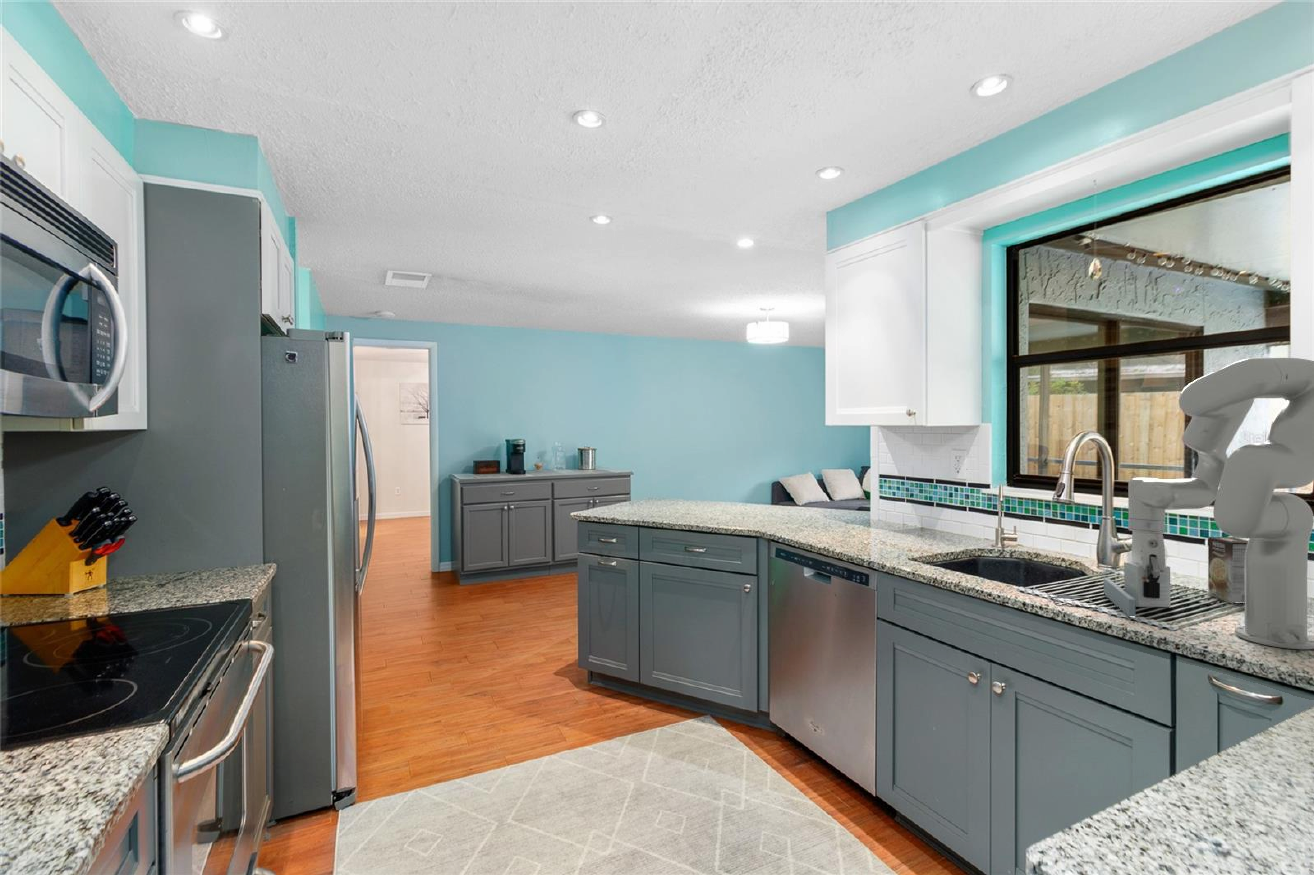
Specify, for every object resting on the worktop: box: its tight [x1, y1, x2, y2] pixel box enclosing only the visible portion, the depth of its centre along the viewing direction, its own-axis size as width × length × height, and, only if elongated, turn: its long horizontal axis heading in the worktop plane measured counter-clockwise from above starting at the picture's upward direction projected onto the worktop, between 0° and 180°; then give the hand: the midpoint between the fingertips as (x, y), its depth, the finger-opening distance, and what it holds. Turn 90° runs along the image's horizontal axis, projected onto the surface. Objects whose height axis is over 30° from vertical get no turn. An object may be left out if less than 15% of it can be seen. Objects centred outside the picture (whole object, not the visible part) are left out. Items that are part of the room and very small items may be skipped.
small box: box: [1123, 561, 1172, 608], centre depth 161 cm, size 8×6×10 cm
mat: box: [1051, 594, 1093, 607], centre depth 164 cm, size 11×9×1 cm
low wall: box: [1103, 577, 1136, 617], centre depth 160 cm, size 24×1×4 cm, turn 156°
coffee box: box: [1207, 536, 1249, 604], centre depth 165 cm, size 9×6×16 cm
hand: (1146, 593), depth 161 cm, fingers closed on small box, 6 cm apart
